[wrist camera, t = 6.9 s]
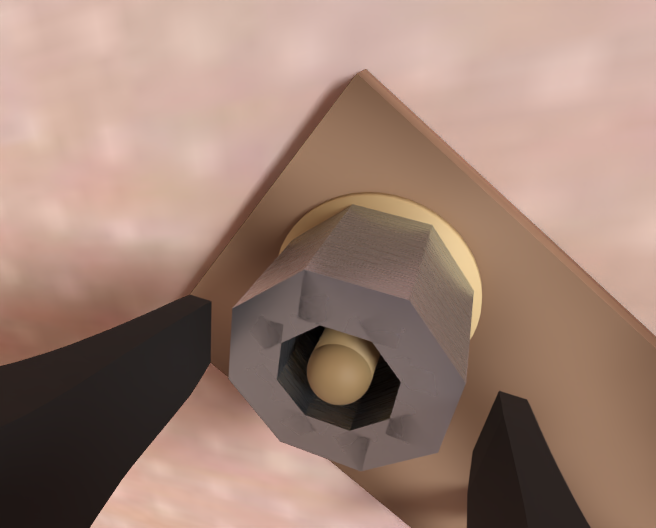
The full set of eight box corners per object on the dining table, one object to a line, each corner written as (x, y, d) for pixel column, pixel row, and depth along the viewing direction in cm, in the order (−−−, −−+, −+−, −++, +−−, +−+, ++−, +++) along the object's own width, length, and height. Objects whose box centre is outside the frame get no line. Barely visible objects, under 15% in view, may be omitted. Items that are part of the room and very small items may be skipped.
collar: (437, 388, 16) (421, 494, 12) (281, 337, 17) (226, 421, 13) (492, 240, 13) (490, 323, 9) (299, 189, 14) (235, 248, 10)
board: (499, 576, 21) (499, 748, 16) (180, 312, 19) (74, 413, 15) (806, 475, 15) (961, 710, 10) (366, 69, 13) (287, 105, 8)
